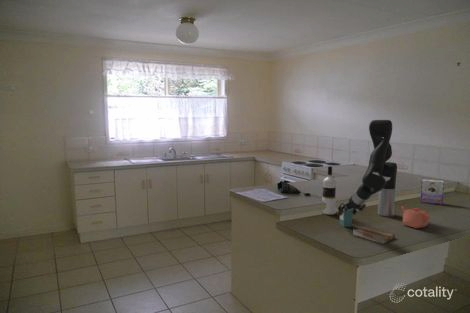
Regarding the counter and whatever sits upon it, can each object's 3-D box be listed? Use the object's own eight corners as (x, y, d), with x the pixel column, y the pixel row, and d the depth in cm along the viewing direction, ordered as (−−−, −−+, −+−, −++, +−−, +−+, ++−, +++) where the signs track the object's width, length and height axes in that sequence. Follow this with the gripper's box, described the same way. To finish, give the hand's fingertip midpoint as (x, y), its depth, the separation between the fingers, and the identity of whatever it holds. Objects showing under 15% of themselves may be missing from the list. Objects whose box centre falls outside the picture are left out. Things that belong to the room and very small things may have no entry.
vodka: (334, 215, 213) (336, 168, 209) (319, 214, 217) (321, 167, 213) (336, 212, 221) (338, 166, 217) (322, 210, 225) (323, 165, 221)
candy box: (442, 203, 245) (444, 180, 243) (442, 205, 240) (444, 182, 238) (420, 200, 252) (422, 178, 250) (420, 202, 247) (421, 179, 245)
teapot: (422, 231, 185) (424, 213, 184) (392, 222, 200) (394, 205, 199) (435, 228, 190) (436, 210, 189) (405, 219, 206) (406, 202, 205)
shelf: (364, 229, 188) (365, 224, 187) (394, 237, 176) (394, 231, 175) (352, 235, 179) (353, 229, 178) (383, 243, 167) (383, 237, 167)
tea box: (347, 223, 198) (348, 203, 196) (351, 226, 193) (352, 205, 192) (339, 224, 197) (340, 203, 195) (343, 227, 192) (344, 206, 190)
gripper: (368, 192, 185) (355, 207, 198) (344, 193, 182) (332, 208, 194) (373, 204, 181) (360, 218, 193) (349, 205, 177) (337, 220, 190)
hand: (346, 213), depth 194 cm, fingers open, 8 cm apart
